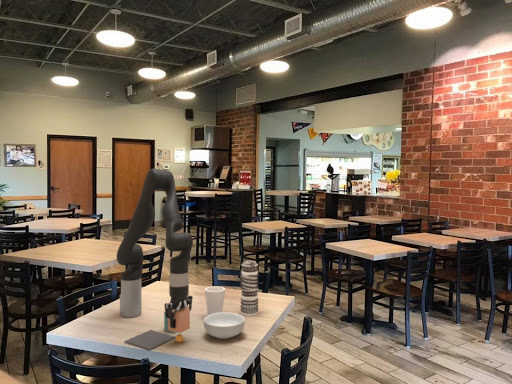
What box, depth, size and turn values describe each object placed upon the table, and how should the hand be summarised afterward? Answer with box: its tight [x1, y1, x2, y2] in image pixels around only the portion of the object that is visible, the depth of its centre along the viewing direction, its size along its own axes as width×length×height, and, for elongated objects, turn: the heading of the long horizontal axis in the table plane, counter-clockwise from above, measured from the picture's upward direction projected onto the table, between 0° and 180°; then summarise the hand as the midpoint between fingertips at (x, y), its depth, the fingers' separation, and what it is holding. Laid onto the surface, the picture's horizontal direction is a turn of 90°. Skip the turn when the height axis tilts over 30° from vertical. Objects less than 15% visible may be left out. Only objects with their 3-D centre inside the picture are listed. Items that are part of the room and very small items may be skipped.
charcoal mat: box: [123, 329, 176, 351], centre depth 164 cm, size 14×14×1 cm
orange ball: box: [175, 333, 184, 343], centre depth 162 cm, size 3×3×3 cm
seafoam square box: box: [163, 310, 177, 334], centre depth 176 cm, size 6×6×8 cm
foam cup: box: [204, 285, 226, 316], centre depth 192 cm, size 10×9×13 cm
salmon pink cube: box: [168, 308, 191, 334], centre depth 162 cm, size 6×6×8 cm
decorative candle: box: [239, 259, 260, 317], centre depth 197 cm, size 9×9×25 cm
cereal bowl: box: [203, 311, 246, 340], centre depth 169 cm, size 17×17×7 cm
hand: (178, 325), depth 162 cm, fingers closed on salmon pink cube, 6 cm apart
